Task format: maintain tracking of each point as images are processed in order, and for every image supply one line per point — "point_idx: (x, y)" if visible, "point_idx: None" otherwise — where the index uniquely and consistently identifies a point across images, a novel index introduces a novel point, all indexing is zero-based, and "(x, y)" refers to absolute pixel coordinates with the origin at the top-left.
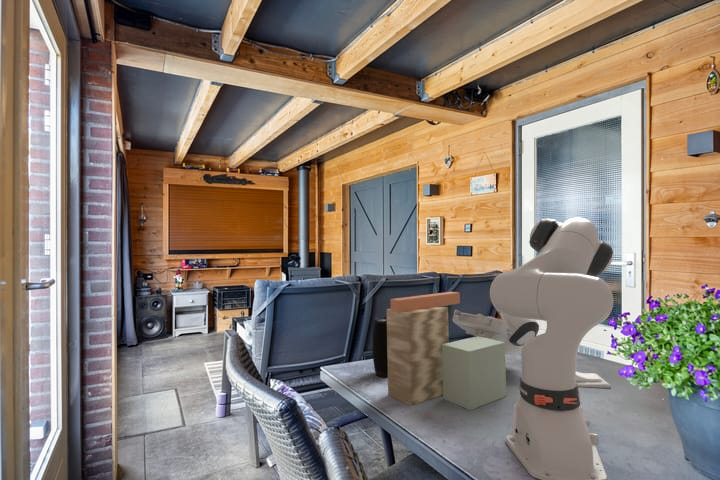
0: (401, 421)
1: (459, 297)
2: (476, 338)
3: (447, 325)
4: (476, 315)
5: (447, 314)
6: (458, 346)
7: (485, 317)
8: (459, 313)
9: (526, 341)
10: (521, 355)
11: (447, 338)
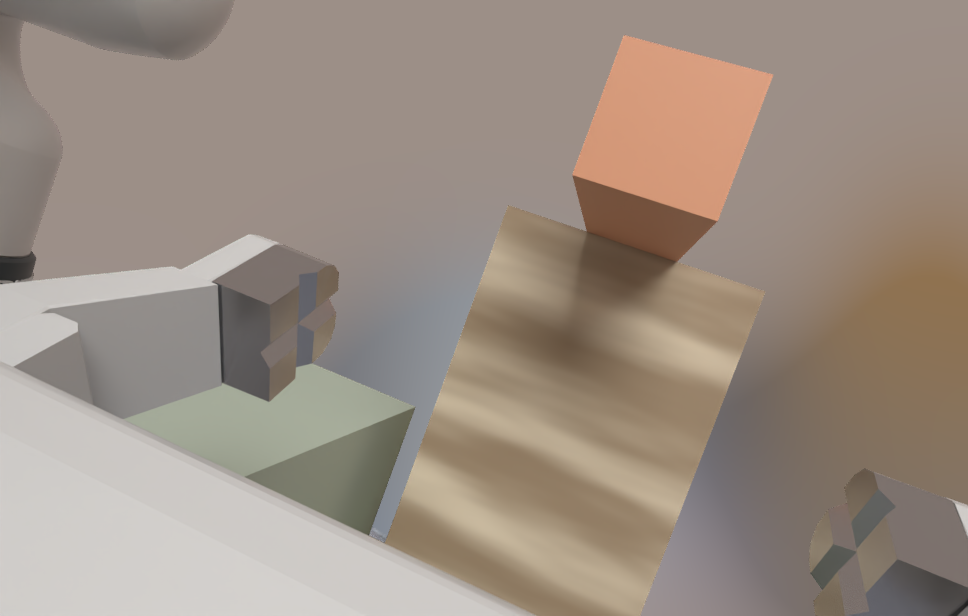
0: (379, 540)
1: (601, 99)
2: (211, 445)
3: (463, 334)
4: (451, 579)
5: (492, 256)
6: (314, 373)
7: (126, 292)
8: (862, 568)
9: (47, 119)
10: (55, 173)
11: (431, 424)
